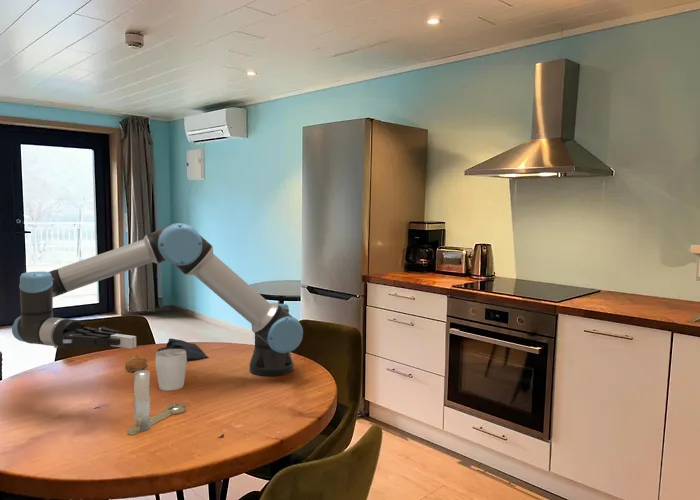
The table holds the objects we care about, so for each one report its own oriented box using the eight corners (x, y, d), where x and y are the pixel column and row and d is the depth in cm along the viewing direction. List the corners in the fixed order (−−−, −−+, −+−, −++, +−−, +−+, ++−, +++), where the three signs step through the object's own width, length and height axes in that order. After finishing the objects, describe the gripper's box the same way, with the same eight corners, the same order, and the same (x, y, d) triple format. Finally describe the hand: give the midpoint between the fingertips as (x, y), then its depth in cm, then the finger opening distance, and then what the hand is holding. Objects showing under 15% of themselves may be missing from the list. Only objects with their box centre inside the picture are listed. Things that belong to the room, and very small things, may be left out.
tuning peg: (174, 406, 141) (173, 356, 140) (189, 409, 139) (188, 358, 138) (122, 432, 124) (121, 375, 123) (138, 436, 122) (137, 378, 121)
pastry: (146, 372, 176) (145, 361, 175) (124, 374, 173) (124, 363, 173) (146, 364, 184) (146, 353, 184) (126, 366, 182) (126, 355, 182)
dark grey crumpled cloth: (169, 365, 184) (168, 352, 184) (156, 351, 203) (156, 339, 203) (211, 359, 192) (211, 347, 192) (195, 346, 211) (195, 334, 211)
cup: (177, 397, 152) (176, 357, 151) (149, 395, 153) (149, 355, 152) (192, 387, 160) (192, 349, 159) (166, 385, 162) (165, 347, 161)
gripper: (85, 341, 143) (152, 350, 135) (41, 353, 131) (112, 364, 123) (84, 314, 143) (152, 322, 134) (40, 324, 130) (112, 333, 122)
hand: (133, 342), depth 129 cm, fingers closed
